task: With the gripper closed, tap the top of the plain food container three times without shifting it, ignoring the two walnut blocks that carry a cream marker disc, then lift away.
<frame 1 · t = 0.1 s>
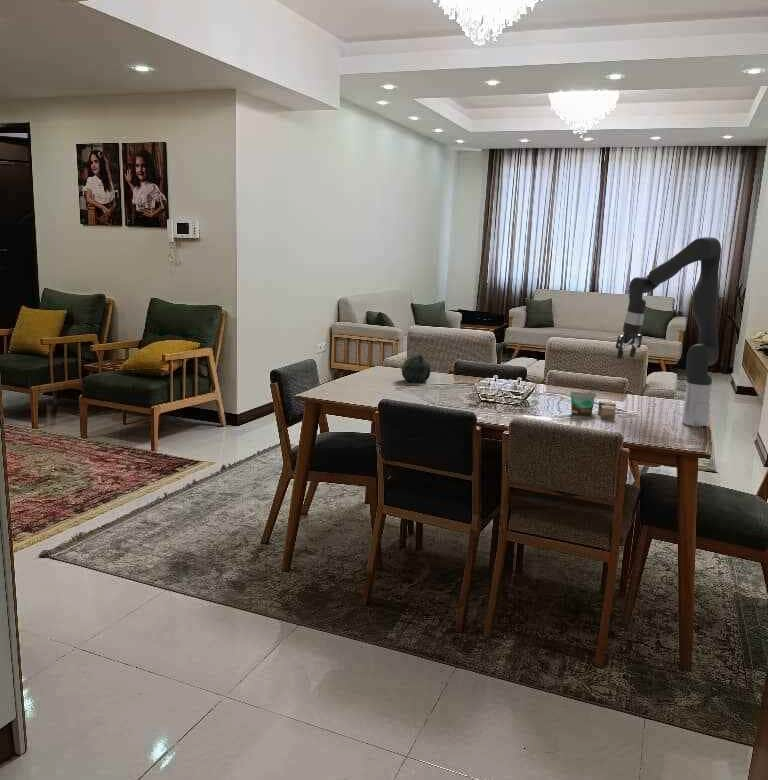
hand: (625, 357, 315), 22 cm above the table, tool pointing down, fingers open, 8 cm apart
marked block b: (607, 418, 297), on the table
marked block a: (606, 414, 305), on the table
food container: (584, 414, 303), on the table
squash: (416, 381, 367), on the table
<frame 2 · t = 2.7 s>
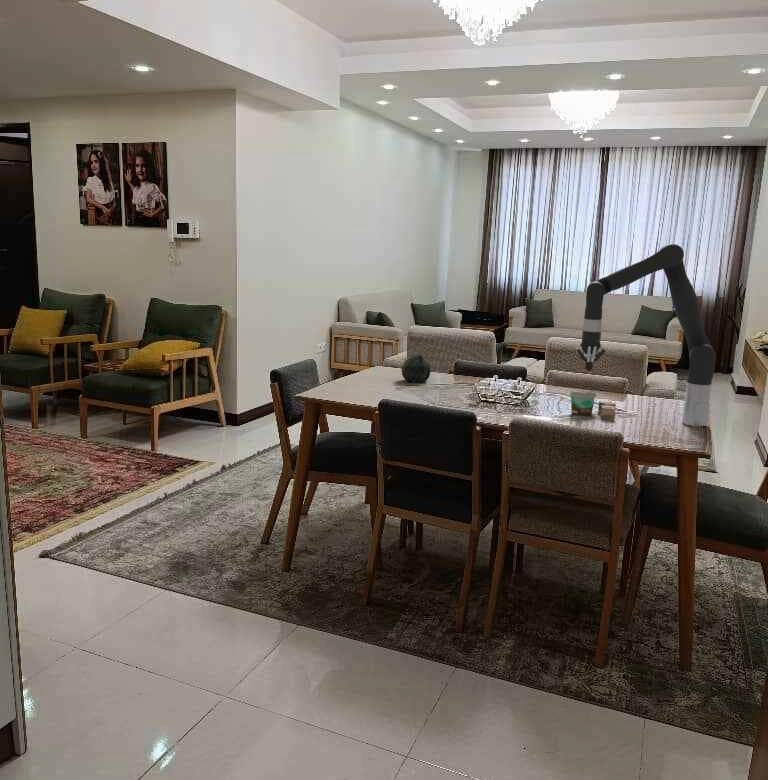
hand: (588, 370, 299), 19 cm above the table, tool pointing down, fingers closed
nothing on the table moved.
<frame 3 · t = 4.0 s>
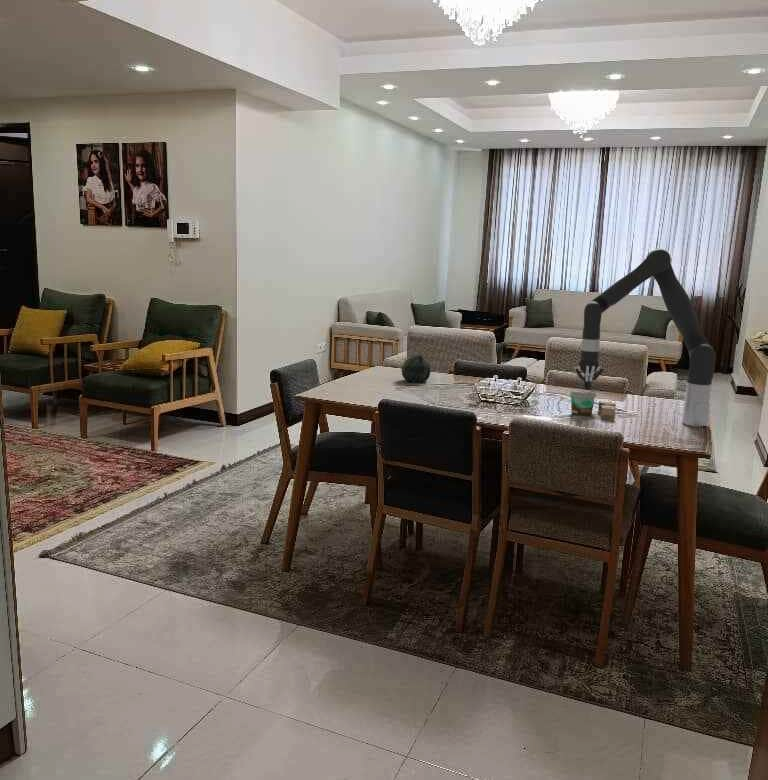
hand: (586, 389, 301), 11 cm above the table, tool pointing down, fingers closed
nothing on the table moved.
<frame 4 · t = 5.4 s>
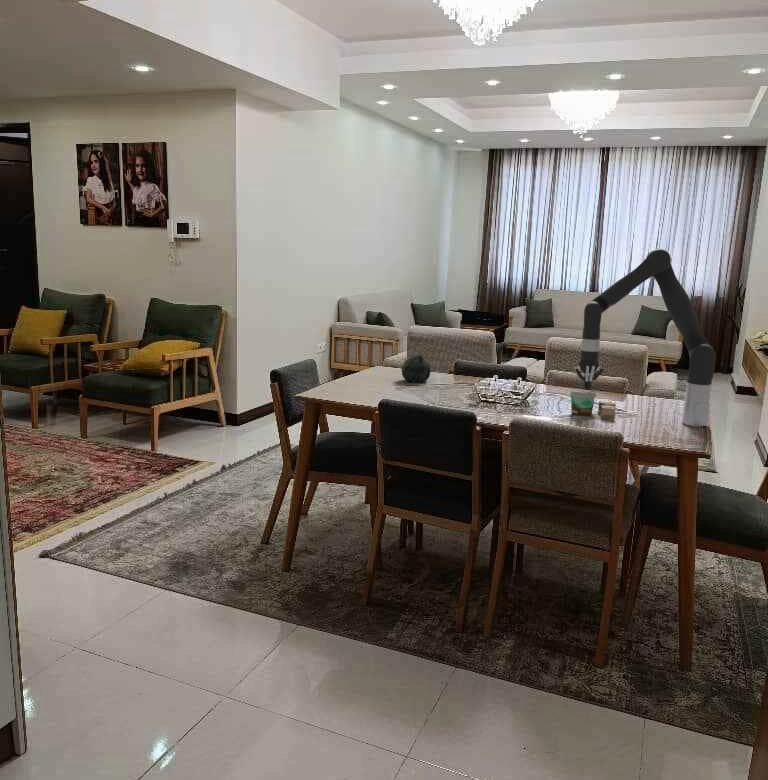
hand: (586, 389, 301), 11 cm above the table, tool pointing down, fingers closed
nothing on the table moved.
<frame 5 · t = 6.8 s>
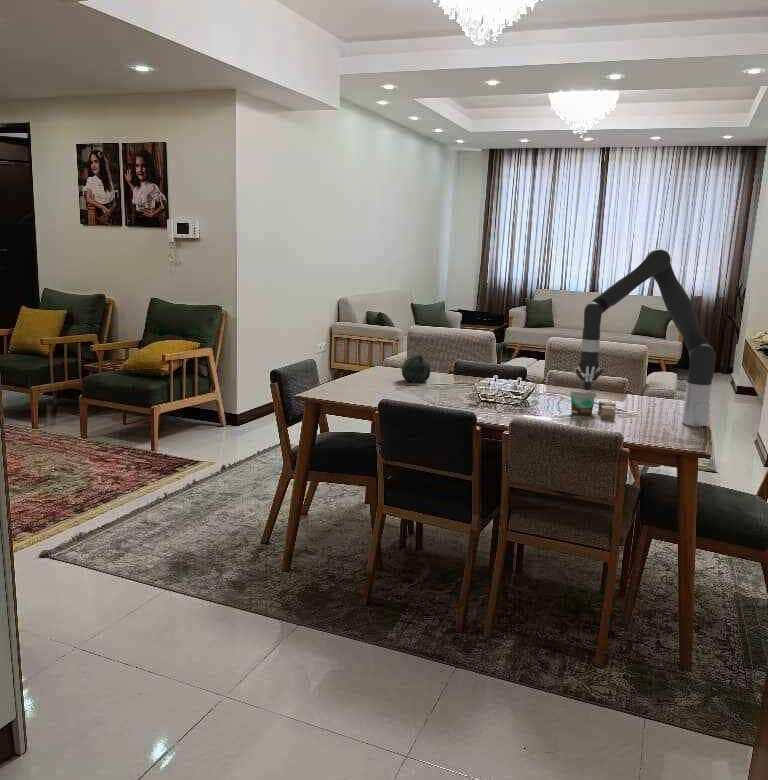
hand: (586, 390, 301), 11 cm above the table, tool pointing down, fingers closed
nothing on the table moved.
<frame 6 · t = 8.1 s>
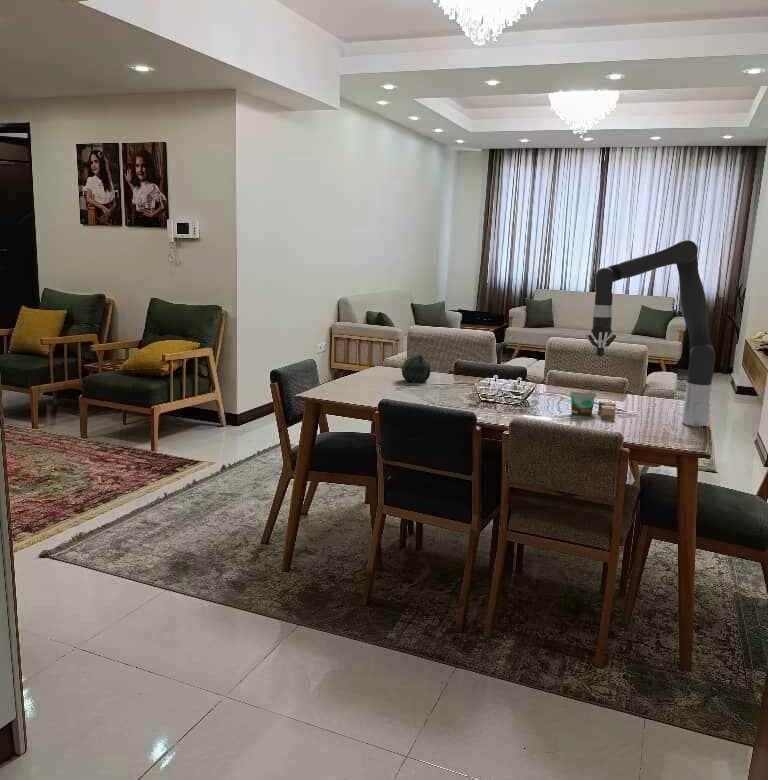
hand: (599, 356, 300), 25 cm above the table, tool pointing down, fingers closed
nothing on the table moved.
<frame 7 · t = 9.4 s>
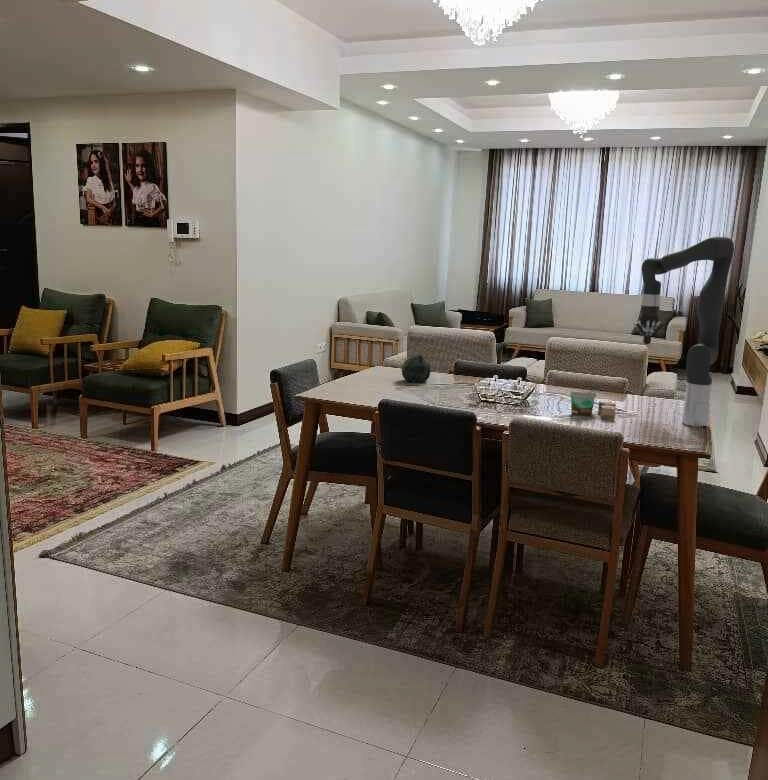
hand: (646, 344, 311), 29 cm above the table, tool pointing down, fingers closed
nothing on the table moved.
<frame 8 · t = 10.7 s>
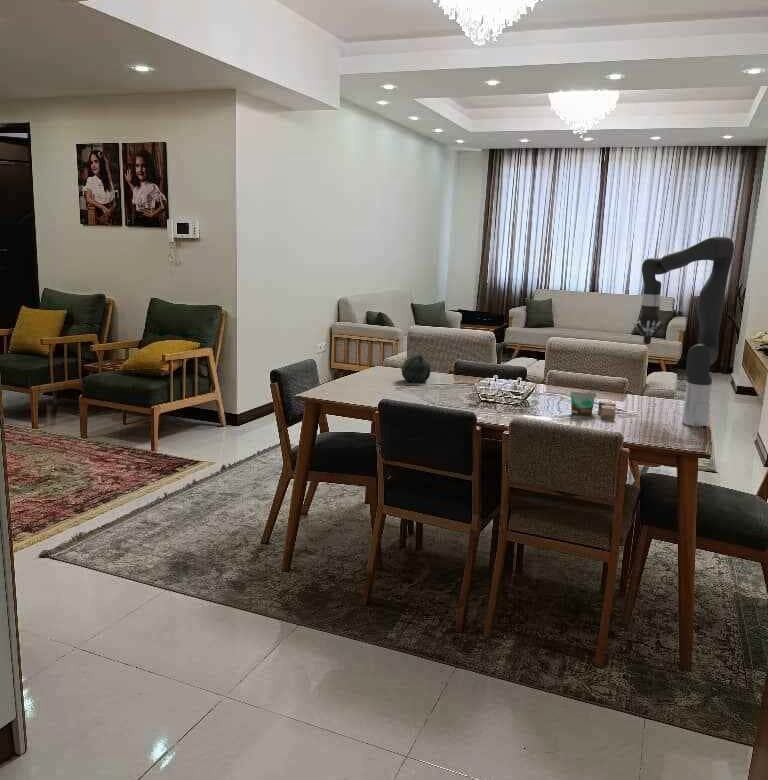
hand: (646, 344, 311), 29 cm above the table, tool pointing down, fingers closed
nothing on the table moved.
at the end: food container moved 0.2 cm from its start; food container tilted 0°; the gripper is holding nothing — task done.
